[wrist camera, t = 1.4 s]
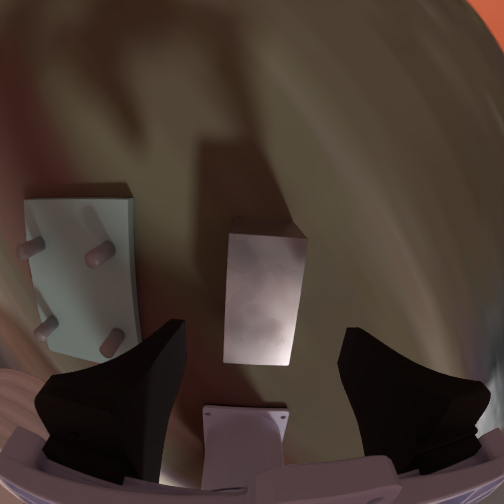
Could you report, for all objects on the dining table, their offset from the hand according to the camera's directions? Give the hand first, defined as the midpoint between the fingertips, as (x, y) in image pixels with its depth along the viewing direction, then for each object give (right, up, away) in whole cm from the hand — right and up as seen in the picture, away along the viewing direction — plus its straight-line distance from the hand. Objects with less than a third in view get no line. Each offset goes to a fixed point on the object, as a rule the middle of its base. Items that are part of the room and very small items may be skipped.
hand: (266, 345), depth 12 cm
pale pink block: (0, +2, +8) cm, 9 cm away
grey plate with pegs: (-14, +1, +8) cm, 17 cm away
